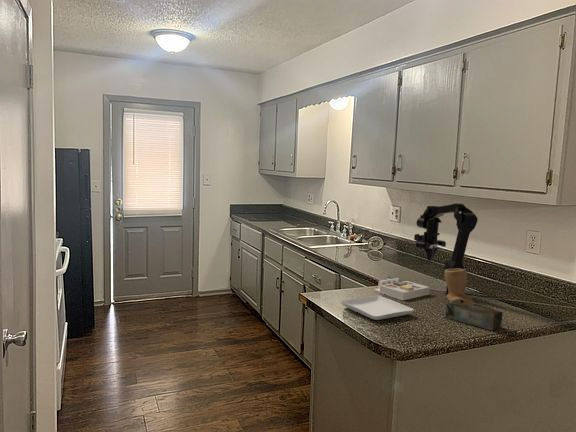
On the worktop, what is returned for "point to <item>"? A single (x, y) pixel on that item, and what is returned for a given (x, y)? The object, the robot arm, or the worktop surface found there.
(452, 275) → the tan boot
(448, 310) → the weathered grey rectangular box
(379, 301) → the salad plate
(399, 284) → the key charcoal
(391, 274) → the worktop surface
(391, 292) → the keypad
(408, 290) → the block
